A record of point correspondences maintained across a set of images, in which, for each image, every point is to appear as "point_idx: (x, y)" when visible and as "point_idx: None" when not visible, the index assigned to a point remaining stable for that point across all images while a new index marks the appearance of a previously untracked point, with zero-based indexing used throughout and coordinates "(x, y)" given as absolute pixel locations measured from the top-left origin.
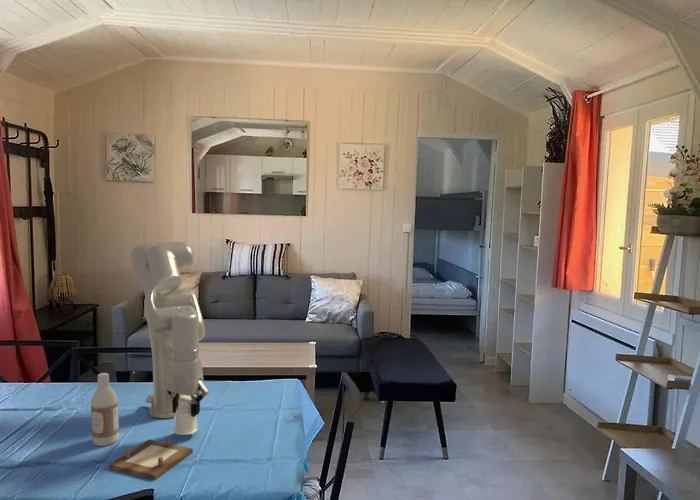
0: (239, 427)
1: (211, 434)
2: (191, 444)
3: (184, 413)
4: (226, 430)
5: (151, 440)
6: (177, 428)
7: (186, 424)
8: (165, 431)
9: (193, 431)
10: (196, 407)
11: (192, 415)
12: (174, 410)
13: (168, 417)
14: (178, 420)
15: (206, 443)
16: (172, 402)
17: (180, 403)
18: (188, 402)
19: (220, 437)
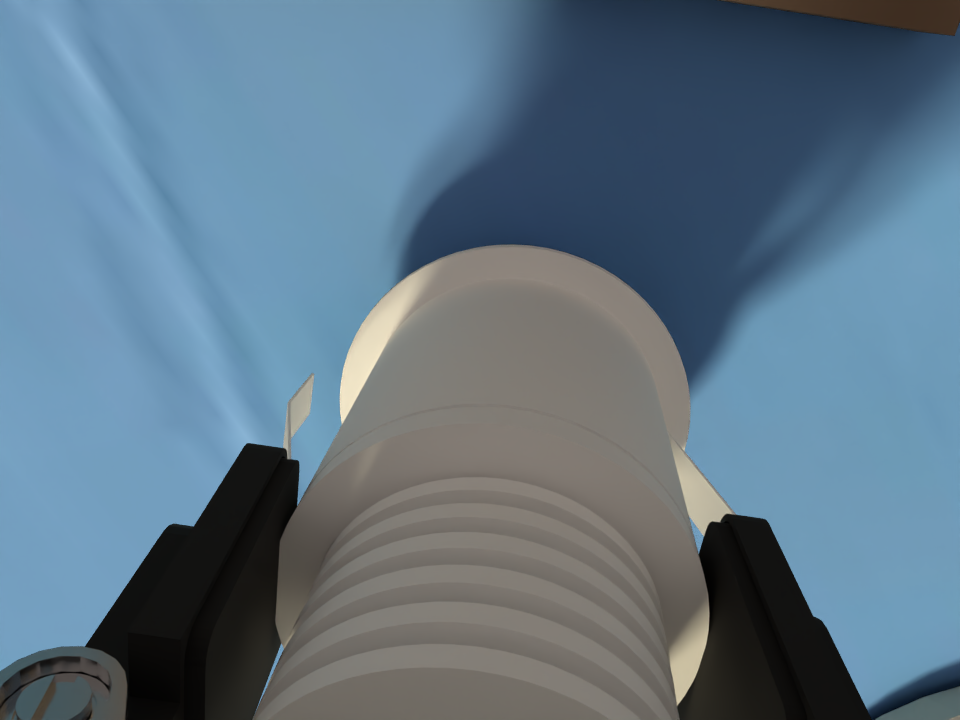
0: (14, 659)
1: (210, 458)
2: (293, 153)
3: (414, 445)
4: (104, 575)
5: (898, 4)
6: (580, 314)
7: (408, 350)
8: (831, 410)
9: (366, 376)
10: (114, 609)
11: (249, 454)
12: (734, 546)
13: (935, 700)
14: (558, 359)
15: (116, 228)
16: (866, 715)
17: (535, 624)
18: (291, 688)
19: (55, 412)
